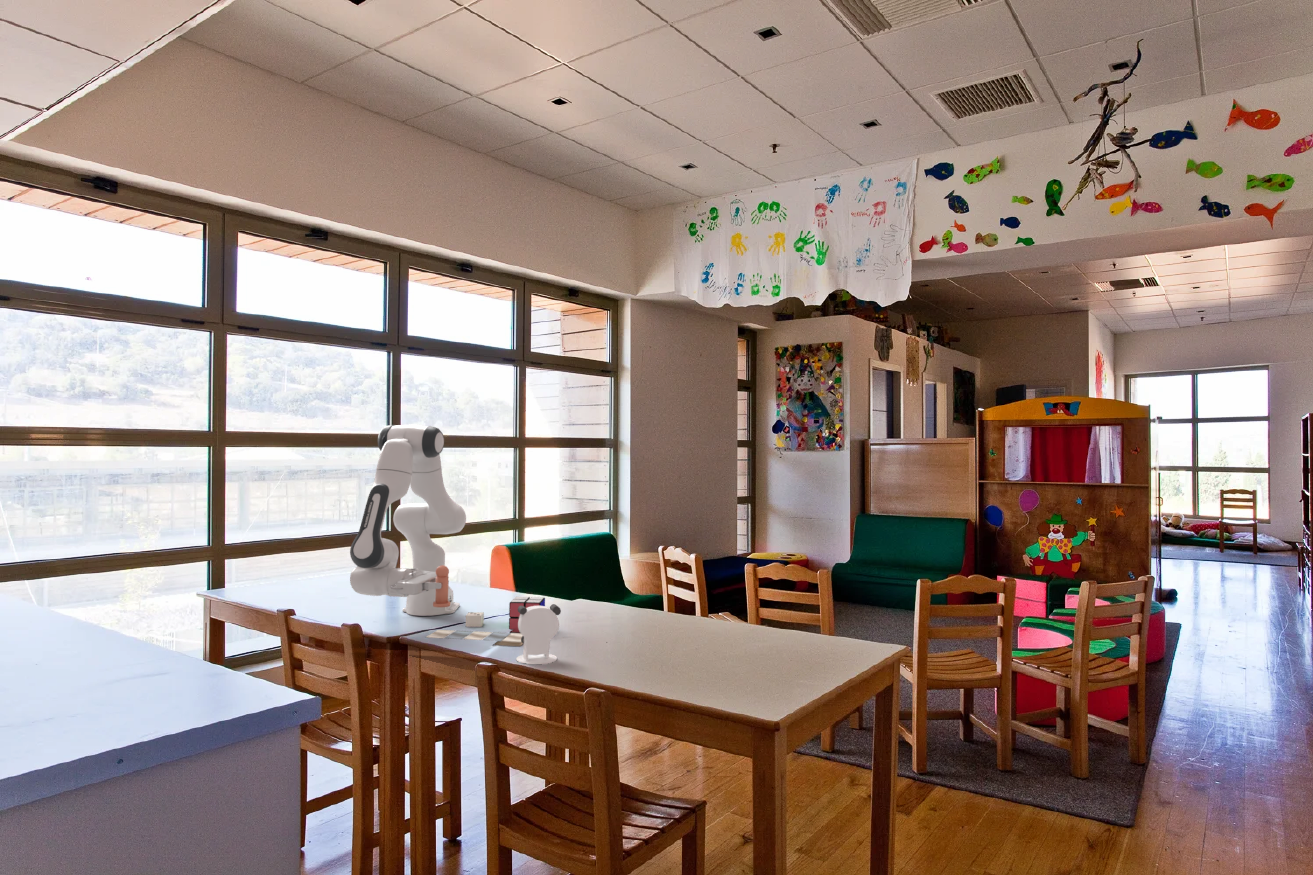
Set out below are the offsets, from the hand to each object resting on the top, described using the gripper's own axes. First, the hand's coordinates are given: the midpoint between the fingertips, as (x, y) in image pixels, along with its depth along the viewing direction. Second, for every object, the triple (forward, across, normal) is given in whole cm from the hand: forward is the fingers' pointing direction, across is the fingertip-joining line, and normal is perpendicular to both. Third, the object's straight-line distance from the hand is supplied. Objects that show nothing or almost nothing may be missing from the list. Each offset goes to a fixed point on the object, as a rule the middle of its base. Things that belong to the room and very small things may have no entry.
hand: (444, 584), depth 250 cm
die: (+5, +14, +17) cm, 22 cm away
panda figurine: (+35, -19, +17) cm, 43 cm away
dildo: (-1, 0, +7) cm, 7 cm away
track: (+11, 0, +17) cm, 20 cm away
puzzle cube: (+22, +16, +17) cm, 32 cm away
